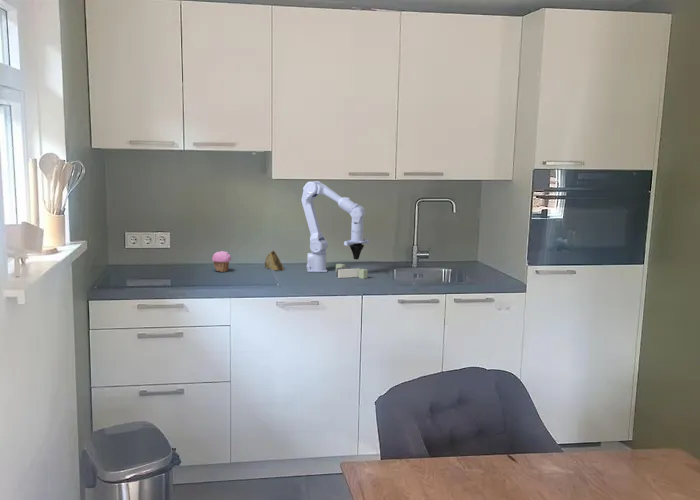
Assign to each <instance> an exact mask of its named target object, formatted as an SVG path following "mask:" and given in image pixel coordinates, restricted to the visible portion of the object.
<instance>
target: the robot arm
mask: <svg viewBox="0 0 700 500" xmlns="http://www.w3.org/2000/svg"><path fill="white" fill-rule="evenodd" d="M302 190H303V191H302V195H301V199H300V200H301V205H302V208H303V211H304V212H303V213H304V215H305V219H306V223H307V226H308V230H309V234H310V237H309V243H310V244H309V249H310V252H308V253H307V254H306V255H307V256H306V270H307V272H308V273H321V272H324V273H328V269H327V249H328V246H329V243H328V241H327V239H326V238H325V235H324V234H323V233H322V230H321V227H320V224H319V219H318V216H317V212H316V209H315V205H314V200H315V199H316V197H317V196H318V195H324V196H326V197H327V198H329V199H331V200H333V201H334V202H336V204H337V205H338V208H340V209H341V210H343V211H344V212H346V213H348V214H349V215H350V218H351V225H350V226H351V230H350V239H349V240H345V241H344V242H343V245H344V246H346V247H349V248H350V250H351V253H352V257H353V260H359V259H360V256H361V255H360V254H361V252H362V250H363V249H364V246H365V245H367V244H370V239H366V238H364V216H365V215H366V210H365V208H364V207H363V205H359V203H355V202H354V201H352V200H351V198H350V197H347V196H344V197H342V196H340V195H339V194H338V193H337V192H335V191H334V190H333V189H331V188H329V186H327V185H326V184H324V183H322V182H321V181H318V180H314V181H307V182H306V183H305V185H304V186H303V188H302ZM364 244H365V245H364Z"/></svg>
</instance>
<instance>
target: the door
mask: <svg viewBox="0 0 700 500" xmlns="http://www.w3.org/2000/svg"><path fill="white" fill-rule="evenodd" d="M359 269H362V268H361V267H358V268H351V269H342V270H338V279H344V278H347V279H348V278H358V275H359Z"/></svg>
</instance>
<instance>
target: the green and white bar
mask: <svg viewBox="0 0 700 500" xmlns="http://www.w3.org/2000/svg"><path fill="white" fill-rule="evenodd" d="M340 267H346V268H347V265H346V264H343V263H336V264H335V271H336V270H337V268H340ZM358 269H359V268H358ZM358 277H359V279H368V269H365V268H361V269H359V275H358ZM358 277H357V278H358Z"/></svg>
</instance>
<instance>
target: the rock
mask: <svg viewBox="0 0 700 500" xmlns="http://www.w3.org/2000/svg"><path fill="white" fill-rule="evenodd" d="M264 260H265V262H264V268H266V269H267V270H268V269H269V270H271V271H272V270H273V271H284V270H285V269H284V266H283V264H282V262H281V260H280V258H279V256H278V255H277V253H276V251H274V250H272V251H270V252H269V253H268V254H267V256H266V258H265V259H264Z"/></svg>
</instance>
